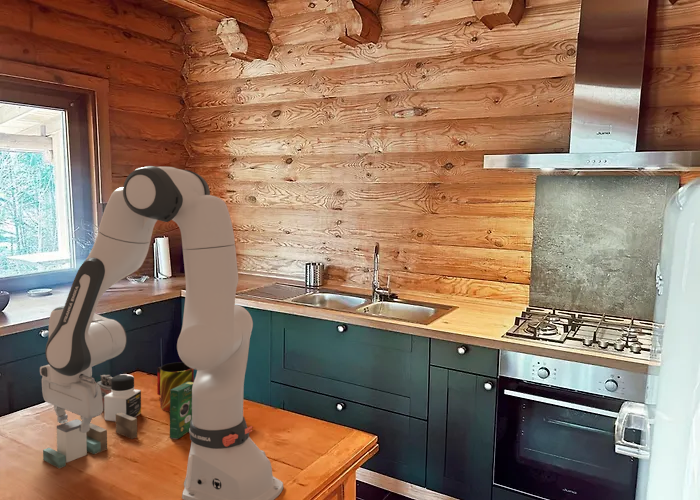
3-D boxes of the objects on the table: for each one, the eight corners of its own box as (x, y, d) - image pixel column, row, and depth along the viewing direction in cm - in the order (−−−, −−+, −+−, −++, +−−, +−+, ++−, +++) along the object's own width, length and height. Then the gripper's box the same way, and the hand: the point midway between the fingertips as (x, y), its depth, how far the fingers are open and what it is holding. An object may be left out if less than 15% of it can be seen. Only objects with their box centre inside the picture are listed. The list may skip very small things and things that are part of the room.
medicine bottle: (126, 423, 149) (126, 381, 148) (104, 420, 150) (103, 379, 149) (141, 413, 156) (141, 373, 155) (119, 410, 157) (119, 371, 156)
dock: (137, 437, 140) (136, 418, 140) (59, 468, 123) (58, 447, 123) (120, 430, 144) (120, 412, 144) (43, 459, 127) (42, 439, 126)
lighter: (94, 406, 159) (94, 374, 159) (105, 403, 162) (105, 371, 161) (110, 413, 155) (109, 380, 154) (120, 410, 158) (120, 377, 157)
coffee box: (187, 426, 148) (187, 380, 147) (196, 427, 147) (196, 381, 146) (168, 438, 140) (168, 389, 139) (178, 439, 139) (178, 391, 138)
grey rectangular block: (86, 454, 130) (86, 423, 129) (66, 462, 126) (65, 430, 125) (77, 450, 132) (76, 419, 132) (57, 457, 128) (56, 425, 127)
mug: (158, 397, 169) (158, 360, 168) (199, 401, 166) (199, 363, 165) (141, 408, 159) (141, 369, 158) (184, 413, 157) (183, 373, 156)
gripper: (109, 375, 124) (110, 432, 126) (61, 360, 135) (63, 413, 137) (83, 382, 119) (85, 442, 120) (35, 366, 130) (38, 421, 131)
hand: (73, 426), depth 129 cm, fingers open, 8 cm apart
